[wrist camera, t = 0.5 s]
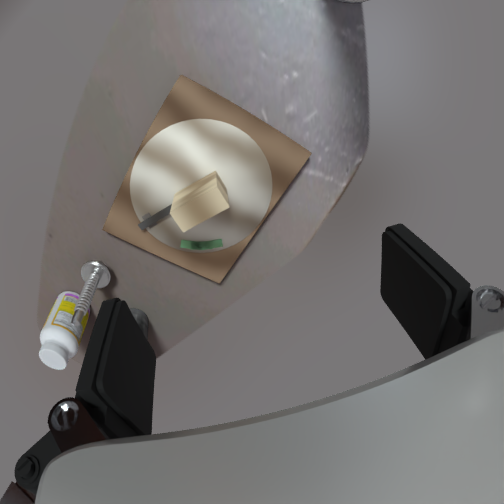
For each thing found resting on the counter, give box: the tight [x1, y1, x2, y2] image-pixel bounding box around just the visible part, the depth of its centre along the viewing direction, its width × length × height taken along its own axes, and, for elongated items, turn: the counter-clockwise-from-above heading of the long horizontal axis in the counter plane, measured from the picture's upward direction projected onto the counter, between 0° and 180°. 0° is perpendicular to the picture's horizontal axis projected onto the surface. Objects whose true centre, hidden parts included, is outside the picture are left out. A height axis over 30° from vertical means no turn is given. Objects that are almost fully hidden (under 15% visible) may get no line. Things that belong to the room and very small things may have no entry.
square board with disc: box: [102, 75, 312, 284], centre depth 40 cm, size 23×19×2 cm
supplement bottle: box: [39, 291, 90, 370], centre depth 42 cm, size 7×7×13 cm
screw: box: [71, 261, 111, 327], centre depth 39 cm, size 13×5×5 cm
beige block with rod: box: [138, 171, 230, 232], centre depth 37 cm, size 12×3×6 cm, turn 117°
